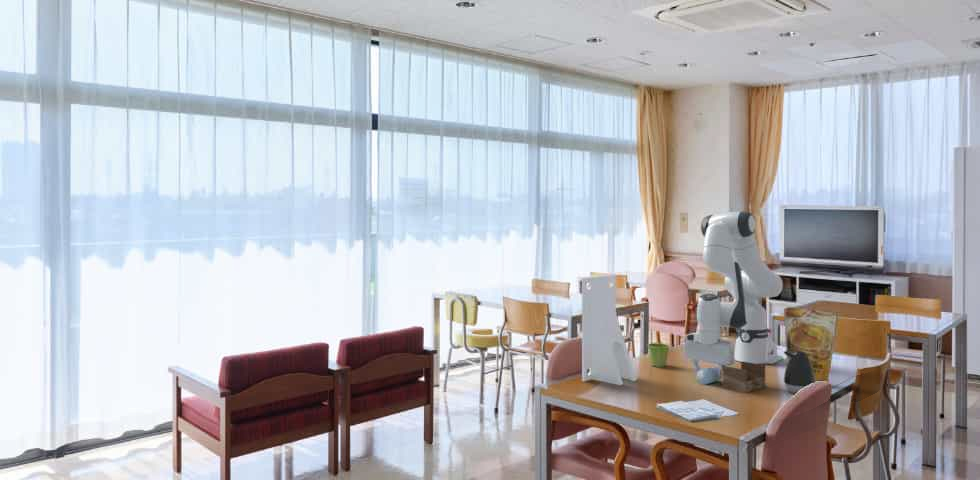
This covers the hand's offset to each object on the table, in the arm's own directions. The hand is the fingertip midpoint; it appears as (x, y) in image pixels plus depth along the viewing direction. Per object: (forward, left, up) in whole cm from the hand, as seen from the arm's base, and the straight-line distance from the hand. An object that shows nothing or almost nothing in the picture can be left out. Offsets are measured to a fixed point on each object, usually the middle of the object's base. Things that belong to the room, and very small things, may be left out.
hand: (708, 373), depth 271 cm
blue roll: (0, 0, -3) cm, 3 cm away
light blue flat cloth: (+37, +20, -4) cm, 42 cm away
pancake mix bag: (-27, +25, -4) cm, 37 cm away
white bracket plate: (+24, -27, -4) cm, 36 cm away
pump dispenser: (-10, +30, -4) cm, 32 cm away
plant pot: (-10, -31, -4) cm, 33 cm away
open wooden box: (-3, +13, -3) cm, 14 cm away
